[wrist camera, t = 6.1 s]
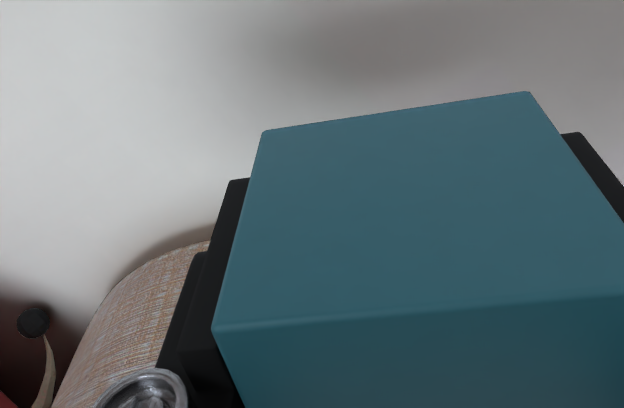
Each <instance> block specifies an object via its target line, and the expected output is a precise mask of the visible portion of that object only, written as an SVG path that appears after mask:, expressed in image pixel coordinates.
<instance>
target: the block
mask: <svg viewBox="0 0 624 408" xmlns="http://www.w3.org/2000/svg"><path fill="white" fill-rule="evenodd" d="M211 331H212V334H213V337H214V339H215V341H216V343H217V346H218V348H219V350H220V352H221V354H222V357H223V359H224V361H225V363H226V366H227V368H228V370H229V372H230V375H231V377H232V379H233V381H234V384H235V386H236V388H237V390H238V393H239V395H240V397H241V399H242V402H243V404H244V406H245V408H624V223H623V222H622V220H621V219H620V217H619V216H618V215H617V213H616V212H615V210H614V209H613V208H612V206H611V205H610V203H609V202H608V201H607V199H606V198H605V196H604V195H603V194H602V192H601V191H600V189H599V188H598V187H597V185H596V184H595V182H594V181H593V180H592V178H591V177H590V175H589V174H588V173H587V171H586V170H585V169H584V167H583V166H582V164H581V163H580V162H579V160H578V159H577V157H576V156H575V155H574V153H573V152H572V150H571V149H570V148H569V146H568V145H567V143H566V142H565V141H564V139H563V138H562V136H561V135H560V134H559V132H558V131H557V129H556V128H555V127H554V125H553V124H552V122H551V121H550V120H549V118H548V117H547V115H546V114H545V113H544V111H543V110H542V108H541V107H540V106H539V104H538V103H537V101H536V100H535V99H534V97H533V96H532V95H531V93H530V92H527V91H522V92H515V93H509V94H502V95H495V96H489V97H482V98H476V99H469V100H462V101H456V102H449V103H443V104H436V105H429V106H423V107H416V108H410V109H403V110H396V111H390V112H383V113H377V114H370V115H363V116H357V117H350V118H344V119H337V120H330V121H324V122H317V123H311V124H304V125H297V126H291V127H284V128H278V129H271V130H266V131H264V132H262V135H261V138H260V142H259V146H258V150H257V154H256V157H255V161H254V165H253V169H252V173H251V177H250V180H249V184H248V188H247V192H246V196H245V199H244V203H243V207H242V211H241V215H240V218H239V222H238V226H237V230H236V234H235V237H234V241H233V245H232V249H231V253H230V256H229V260H228V264H227V268H226V272H225V275H224V279H223V283H222V287H221V291H220V295H219V298H218V302H217V306H216V310H215V314H214V317H213V321H212V325H211Z"/></svg>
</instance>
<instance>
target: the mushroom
mask: <svg viewBox="0 0 624 408" xmlns="http://www.w3.org/2000/svg"><path fill="white" fill-rule="evenodd" d="M49 324H50V321H49V317H48V316H47V314H46V313H45V312H44V311H43V310H41V309H38V308H31V309H27V310H26V311H24V312H23V313H22V314H21V315H20V316H19V317H18V319H17V328H18V331H19V332H20V334H21V335H23V336H24V337H26V338H37V337H40V336H42V335H43V336H44V341H45V346H46V351H47V360H46V371H45V376H44V379H43V382H42V385H41V388H40V391H39V394H38V397H37V399H36V400H35V402H34V404H33V405H32V407H31V408H49V407H50V405H51V403H52V397H53V391H54V384H55V378H56V370H55V363H54V356H53V352H52V350H51V348H50V346H49V344H48V341H47V339H46V337H45V335H44V334H45V332H46V331H47V330H48V328H49ZM0 408H18V407H17V406H16V405H15V404H14V403H13V402H12V401H11V400H10V399H9V398H8V397H7V396H6V395H5V394H4V393H3V392H1V391H0Z"/></svg>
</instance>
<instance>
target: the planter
mask: <svg viewBox="0 0 624 408" xmlns="http://www.w3.org/2000/svg"><path fill="white" fill-rule="evenodd" d="M209 244H210V240H207V241H202V242H198V243H194V244H191V245H187V246H184V247H181V248H178V249H175V250H173V251H170V252H168V253H165V254H163V255H161V256H158V257H156V258H154V259H152V260H150V261H148V262H147V263H145V264H143V265H141V266H140V267H138V268H137V269H135V270H134V271H133V272H131V273H130V274H129V275H127V276H126V277H125V278H124V279H123V280H121V281H120V282H119V283H118V284H117V285H116V286H115V287H114V288H113V289H112V290H111V292H110V293H109V294H108V295H107V296H106V298H105V299H104V301H103V302H102V303H101V305H100V306H99V308H98V310H97V311H96V313H95V314H94V316H93V318H92V320H91V321H90V323H89V325H88V327H87V329H86V331H85V333H84V335H83V337H82V339H81V342H80V344H79V346H78V348H77V350H76V353H75V355H74V357H73V359H72V361H71V364H70V366H69V368H68V370H67V373H66V375H65V377H64V379H63V381H62V384H61V386H60V388H59V390H58V393H57V395H56V397H55V399H54V402H53V404H52V406H51V408H91V407H92V406H93V404H94V403H95V401H96V400H97V398H98V397H99V396H100V395H101V394H102V393H103V392H104V391H105V390H106V389H107V388H108V387H109V386H111V385H112V384H114V383H115V382H117V381H118V380H120V379H121V378H123V377H124V376H126V375H129V374H131V373H134V372H136V371H139V370H143V369H150V368H155V365H156V362H157V359H158V357H159V354H160V351H161V348H162V345H163V342H164V339H165V336H166V333H167V331H168V328H169V325H170V322H171V319H172V316H173V313H174V310H175V307H176V305H177V302H178V299H179V296H180V293H181V290H182V287H183V284H184V281H185V279H186V276H187V273H188V270H189V267H190V264H191V261H192V259H193V257H194V255H195V254H197V253H198V252H204V251H207V250H208V247H209Z"/></svg>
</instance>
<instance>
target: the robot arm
mask: <svg viewBox="0 0 624 408" xmlns="http://www.w3.org/2000/svg"><path fill="white" fill-rule="evenodd" d="M560 135H561V136H562V138H563V139H564V141H565V142H566V143H567V145H568V146H569V148H570V149H571V150H572V152H573V153H574V155H575V156H576V157H577V159H578V160H579V162H580V163H581V164H582V166H583V167H584V169H585V170H586V171H587V173H588V174H589V175H590V177H591V178H592V180H593V181H594V182H595V184H596V185H597V187H598V188H599V189H600V191H601V192H602V194H603V195H604V196H605V198H606V199H607V201H608V202H609V203H610V205H611V206H612V208H613V209H614V210H615V212H616V213H617V215H618V216H619V217H620V219H621V220H622V222H623V223H624V187H623V185H622V184H621V183H620V182H619V180H618V179H617V178H616V177H615V175H614V174H613V173H612V171H611V170H610V169H609V168H608V166H607V165H606V164H605V163H604V161H603V160H602V159H601V157H600V156H599V155H598V154H597V152H596V151H595V150H594V149H593V147H592V146H591V145H590V144H589V142H588V141H587V140H586V138H585V137H584V136H583V135H582V134H581V133H580V132H574V133H567V134H560ZM249 180H250V178H243V179H235V180H231V181H230V182H229V184H228V187H227V190H226V193H225V196H224V199H223V203H222V206H221V209H220V212H219V215H218V218H217V221H216V225H215V228H214V231H213V234H212V237H211V240H210V244H209V247H208V250H207V251H204V252H198V253H197V254H195V255H194V257H193V259H192V261H191V264H190V267H189V270H188V273H187V276H186V279H185V281H184V284H183V287H182V290H181V293H180V296H179V299H178V302H177V305H176V307H175V310H174V313H173V316H172V319H171V322H170V325H169V328H168V331H167V333H166V336H165V339H164V342H163V345H162V348H161V351H160V354H159V357H158V359H157V362H156V365H155V368H150V369H143V370H139V371H136V372H134V373H131V374H129V375H126V376H124V377H123V378H121V379H120V380H118V381H117V382H115V383H114V384H112V385H111V386H109V387H108V388H107V389H106V390H105V391H104V392H103V393H102V394H101V395H100V396H99V397H98V398H97V400H96V401H95V403H94V404H93V406H92V407H91V408H245V406H244V404H243V402H242V399H241V397H240V395H239V393H238V390H237V388H236V386H235V384H234V381H233V379H232V377H231V375H230V372H229V370H228V368H227V366H226V363H225V361H224V359H223V357H222V354H221V352H220V350H219V348H218V346H217V343H216V341H215V339H214V337H213V334H212V331H211V325H212V321H213V317H214V314H215V310H216V306H217V302H218V298H219V295H220V291H221V287H222V283H223V279H224V275H225V272H226V268H227V264H228V260H229V256H230V253H231V249H232V245H233V241H234V237H235V234H236V230H237V226H238V222H239V218H240V215H241V211H242V207H243V203H244V199H245V196H246V192H247V188H248V184H249Z"/></svg>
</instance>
